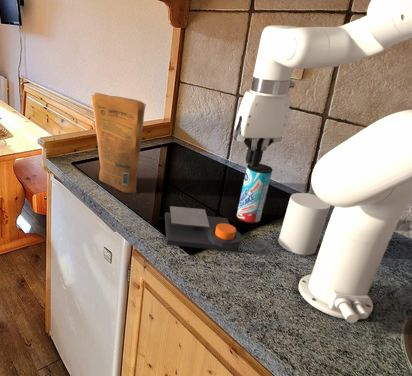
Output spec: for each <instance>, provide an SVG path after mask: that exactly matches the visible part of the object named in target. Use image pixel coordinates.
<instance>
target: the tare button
mask: <svg viewBox="0 0 412 376" xmlns="http://www.w3.org/2000/svg"><path fill="white" fill-rule="evenodd" d="M236 231H237V228H236V227H235V226H233V225H232V224H230V223H229V224H225V223H221V224H218V225H217V226H216V231H215V235H216V236H217V237H219V238H221V239H225V240H232V239H234V237H235V233H236Z"/></svg>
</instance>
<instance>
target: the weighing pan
mask: <svg viewBox="0 0 412 376" xmlns="http://www.w3.org/2000/svg"><path fill="white" fill-rule="evenodd" d="M169 213H170V214H171V224H174V225H184V226H194V227H204V228H209V227H210V226H209V223H208V219H207V216H208V215H207V212H206V209H205V208H204V209H203V208H193V207H184V206H173V205H169Z"/></svg>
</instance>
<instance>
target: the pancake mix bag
mask: <svg viewBox="0 0 412 376" xmlns="http://www.w3.org/2000/svg"><path fill="white" fill-rule="evenodd" d="M90 99H91V106H92V110H93V111H92V112H93V118H94V126H95V132H96V140H97V141H96V142H97V150H98V159H99V164H100V168H99V173H98V180H99V182H102V183H104V184H105V185H107V186H109V187H112V188H114V189H116V190H118V191H120V192H122V193H126V194H137V172H138V167H139V159H140V153H141V147H142V137H143V127H144V119H145V110H146V106H147V104H146V103H145V102H143V101H141V100H138V99H133V98H129V97H123V96H118V95H109V94H106V93H100V92H94V94H91V98H90Z"/></svg>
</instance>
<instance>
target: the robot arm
mask: <svg viewBox="0 0 412 376" xmlns="http://www.w3.org/2000/svg"><path fill="white" fill-rule="evenodd" d="M260 35H261V36H260V40H259V45H258V50H257V56H256V59H255V66H254V68H253V69H254V70H253V75H252V80H251V84H250V88H249V90H246V91H245V93H244V95H243V97H242V100H241V103H240V105H239V108H238V112H237V114H236V118H235V121H234V131H235V132H236V133H235V135H234V140H235V141H236V142H239V143H242V144H244V145H245V146H246V147H247V151H246V155H245V163H246V164H247V165H249V166H251V167H254V166H255V167H259V164H261V162H262V158H263V154H264V152H265V151H267V148H268V147H269V146H271V145H272V144H276V143H280V142H281V141H282V140H283V136H284V135H285V132H286V129H287V124H288V119H289V115H290V102H291V97H290V96H291V95H290V94H289V91H290V89H293V88H295V86H296V82H295V81H292V77H293V73H294V69H295V70H301V69H302V70H303V69H320V68H336V67H339V66H344V65H347V64H350V63H353V62H357V61H360V60H364V59H367V58H370V57H373V56H376V55H378V54H380V53H383V52H384V51H386V50H388V49H389V48H391V47H393V46H394V45H397V44H399V43H402V42H406V41H409V40H411V39H412V0H370V2H369V4H368V6H367V10H366V15H365V16H362V17H360V18H358V19H355V20H353V21H350V22H348V23H345V24H342V25H339V26H296V25H295V26H293V25H283V24H282V25H281V24H273V25H267V26H266V27H264V28H263V30H262V33H261V34H260ZM310 181H311V188H312V190H313V192H314V195H316V196H317V197H318V198H319V199H321V200H322V201H323V202H325V203H327V204H329V205H330V207H334V208H333V209H332V211H331V215H330V218H329V221H328V223H327V227H326V229H325V233H324V235H323V238H322V240H321V245H320V248H319V250H318V253H317V257H316V260H315V263H314V265H313V269H312V271H311V274H305V275H304V276H302V278H301V279H299V283H298V291H299V293H300V295H301V296H302V298H303V299H304V300H305V301H306V302H307V303H308V304H309V305H311V306H312V307H314V308H315V309H317V310H318V311H321V312H322V313H324V314H327V315H329V316H332V317H335V318H338V319H344V320H345V321H346V322H347V323H350V324H355V323H356V322H357V321H358V320H365V319H366V320H367V319H368V318H369V316H370V315H371V314H372V311H373V309H374V303H373V301H372V299H371V297H370V296H369V295H368V294H369V291H370V289H371V287H372V284H373V282H374V280H375V277H376V275H377V272H378V270H379V267H380V266H381V262H382V260H383V258H384V255H385V253H386V250H387V248H388V245H389V243H390V241H391V240H392V237H393V235H394V232H395V230H396V228H397V225H398V223H399V221H400V219H401V217H402V216H403V214H404V212H405V210H406V208H407V207H408V206H409V204H410V202H411V201H412V109H406V110H400V111H398V112H394V113H391V114H388V115H386V116H383V117H382V118H381V119H380V118H379V119H378V120H376V121H374V122H373V123H371V124H369V125H368V126H366V127H365V128H364V129H362V130H360V131H359V132H357V133H355V134H354V135H352V136H350V137H349V138H348V139H346V140H345V141H343V142H342V143H340V144H338V145H337V146H335V147H333V148H332V149H331V150H329V151H328V152H327V153H325V154H324V155H323V156H322V157H321V158H319V159H318V161H317V162H316V164H315V165H314V168H313V169H312V173H311V178H310Z"/></svg>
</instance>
